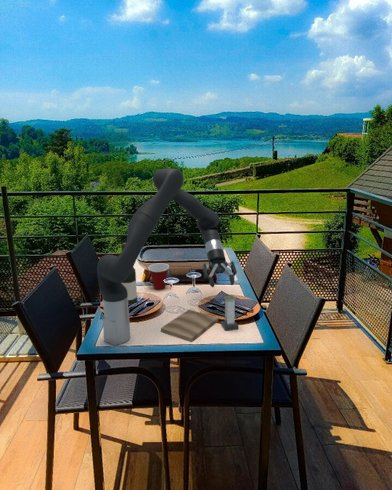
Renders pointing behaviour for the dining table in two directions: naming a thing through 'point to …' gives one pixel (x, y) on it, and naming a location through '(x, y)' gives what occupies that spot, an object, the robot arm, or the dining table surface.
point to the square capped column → (229, 314)
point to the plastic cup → (158, 275)
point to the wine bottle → (130, 285)
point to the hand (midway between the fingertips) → (222, 285)
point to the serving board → (189, 325)
